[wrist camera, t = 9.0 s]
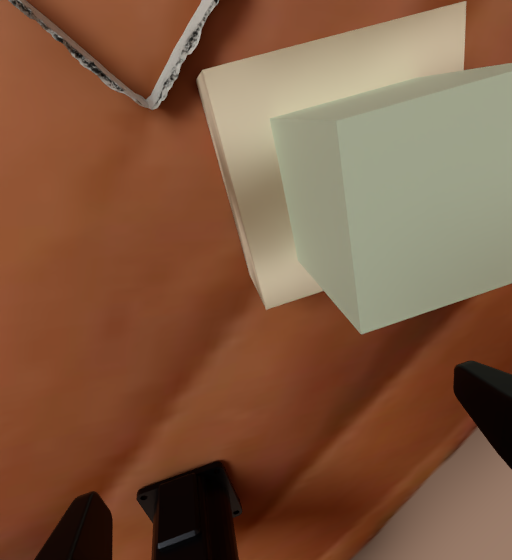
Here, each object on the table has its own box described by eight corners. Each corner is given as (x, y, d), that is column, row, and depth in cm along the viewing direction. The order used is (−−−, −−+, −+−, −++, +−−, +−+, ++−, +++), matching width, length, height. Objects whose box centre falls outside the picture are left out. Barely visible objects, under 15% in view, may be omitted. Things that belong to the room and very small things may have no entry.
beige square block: (408, 225, 21) (456, 247, 17) (249, 275, 20) (266, 309, 16) (402, 25, 16) (466, 0, 13) (195, 80, 15) (202, 69, 12)
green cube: (418, 222, 16) (537, 274, 11) (297, 260, 16) (361, 334, 10) (416, 77, 13) (574, 53, 8) (269, 118, 13) (336, 121, 8)
